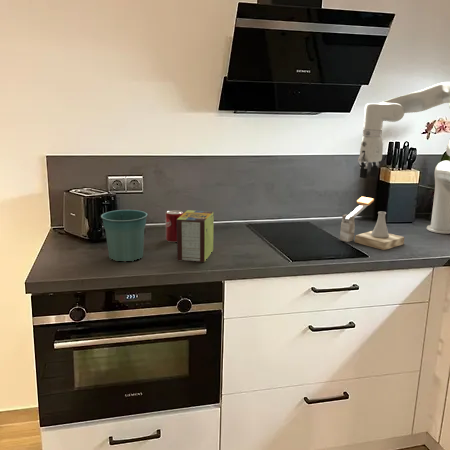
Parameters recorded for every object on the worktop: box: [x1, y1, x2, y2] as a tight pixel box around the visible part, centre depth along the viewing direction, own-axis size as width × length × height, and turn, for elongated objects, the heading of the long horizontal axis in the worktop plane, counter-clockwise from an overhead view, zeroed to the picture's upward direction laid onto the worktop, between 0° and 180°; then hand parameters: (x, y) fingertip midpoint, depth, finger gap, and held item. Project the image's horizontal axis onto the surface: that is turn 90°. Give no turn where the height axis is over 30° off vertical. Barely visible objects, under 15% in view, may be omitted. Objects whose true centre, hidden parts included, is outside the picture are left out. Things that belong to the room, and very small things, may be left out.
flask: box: [371, 211, 390, 238], centre depth 213 cm, size 7×7×10 cm
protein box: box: [176, 209, 215, 263], centre depth 193 cm, size 10×15×16 cm
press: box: [339, 214, 405, 251], centre depth 215 cm, size 16×20×10 cm
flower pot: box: [100, 209, 148, 262], centre depth 189 cm, size 16×16×16 cm
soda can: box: [164, 209, 184, 243], centre depth 212 cm, size 7×7×12 cm
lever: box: [345, 196, 375, 222], centre depth 219 cm, size 15×6×3 cm, turn 129°
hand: (368, 176), depth 219 cm, fingers open, 6 cm apart
